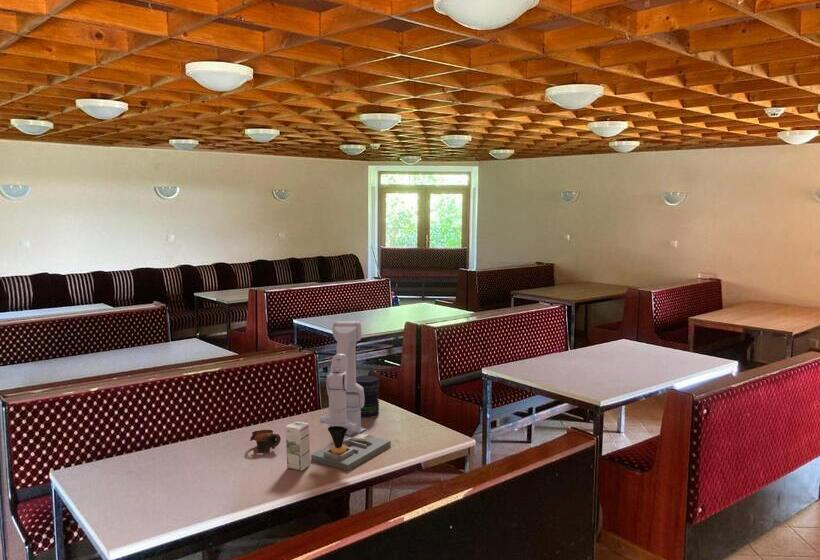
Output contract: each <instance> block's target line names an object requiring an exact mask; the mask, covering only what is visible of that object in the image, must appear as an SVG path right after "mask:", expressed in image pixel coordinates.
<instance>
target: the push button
mask: <svg viewBox="0 0 820 560" xmlns="http://www.w3.org/2000/svg"><path fill="white" fill-rule="evenodd" d="M345 452H346V445H344V444H342V447H340V448H336V447H335V445H333V446H331V453H334V454H337V455H341V454H343V453H345Z"/></svg>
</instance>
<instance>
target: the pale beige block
mask: <svg viewBox="0 0 820 560" xmlns="http://www.w3.org/2000/svg"><path fill="white" fill-rule="evenodd" d="M347 436H348V435H345V436H344V440H343V444H344V445H346V446H347V447H348V446H349V445H351V444H352V438H351V437H347Z"/></svg>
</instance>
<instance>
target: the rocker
mask: <svg viewBox="0 0 820 560" xmlns="http://www.w3.org/2000/svg"><path fill="white" fill-rule="evenodd" d="M372 437H374V434H371V433H370V434H369V433H367V434H365V433H361V434H358V435H356V436H354V437H352V440H358V441H366V440H368V439H370V438H372Z"/></svg>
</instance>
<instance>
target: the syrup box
mask: <svg viewBox="0 0 820 560" xmlns="http://www.w3.org/2000/svg"><path fill="white" fill-rule="evenodd" d="M285 443H286V446H285V448H286V465H287V466H286V467H287V469H290V470H296V471H300V472H301V471H303V470H305V469H307V468H308V467H309V466H310V465H311V444H310V443H311V441H310V424H309V422H301V421H291V423H289V424H287V425H286V426H285Z"/></svg>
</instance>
